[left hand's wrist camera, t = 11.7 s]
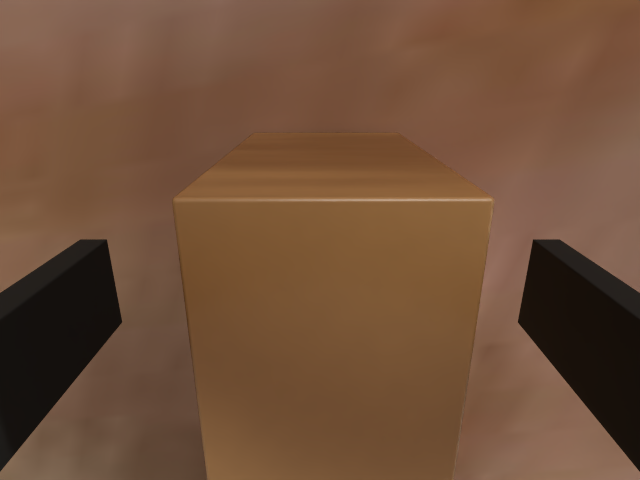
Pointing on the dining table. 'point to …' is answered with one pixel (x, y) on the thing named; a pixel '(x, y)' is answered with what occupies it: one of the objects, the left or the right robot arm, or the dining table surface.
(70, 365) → the left robot arm
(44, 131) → the dining table surface
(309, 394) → the post
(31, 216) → the dining table surface
